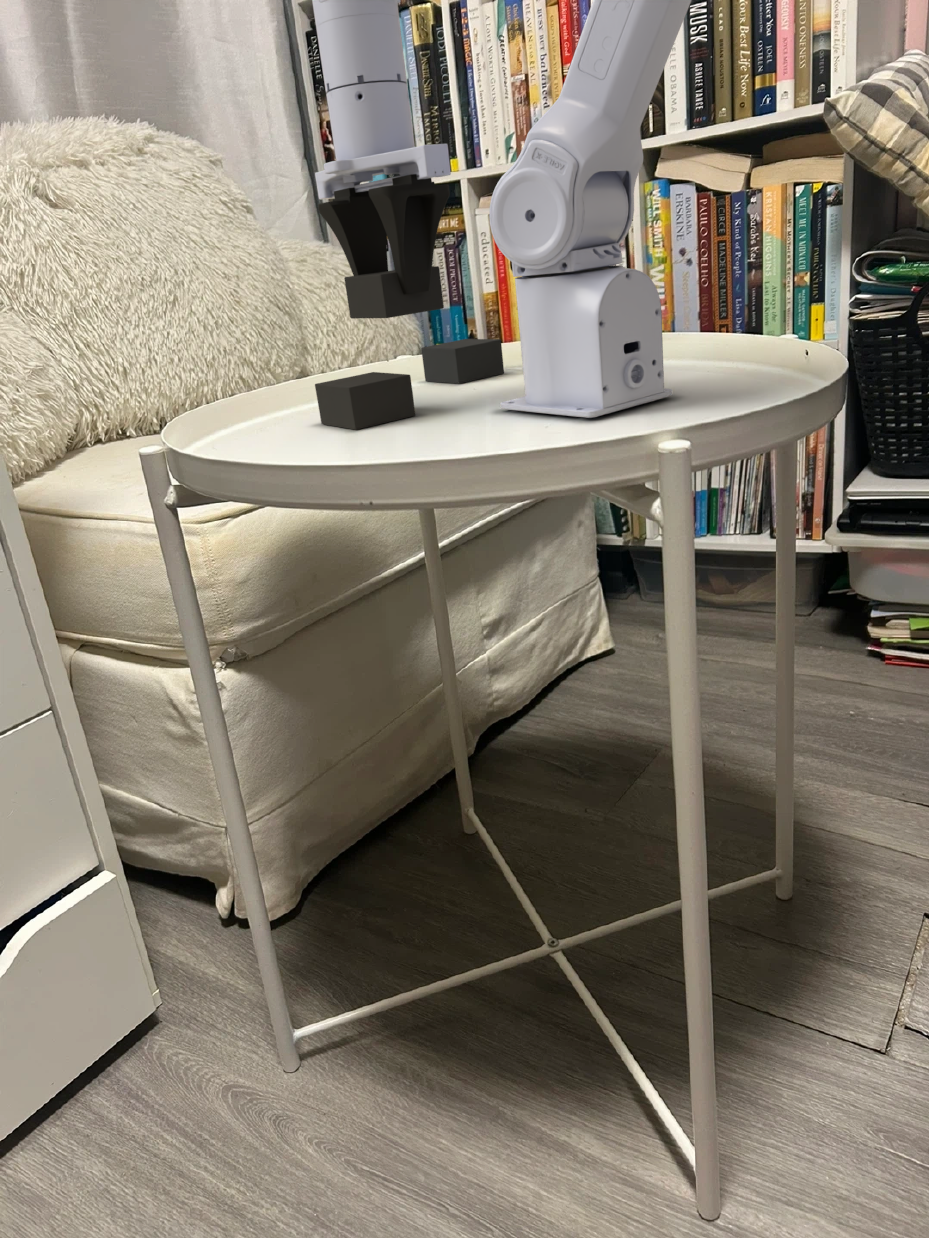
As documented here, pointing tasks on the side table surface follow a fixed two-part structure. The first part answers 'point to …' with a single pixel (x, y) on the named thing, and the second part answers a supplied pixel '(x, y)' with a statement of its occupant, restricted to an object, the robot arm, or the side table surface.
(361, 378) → the pad top
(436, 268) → the pad middle
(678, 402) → the side table surface
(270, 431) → the side table surface
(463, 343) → the pad base
